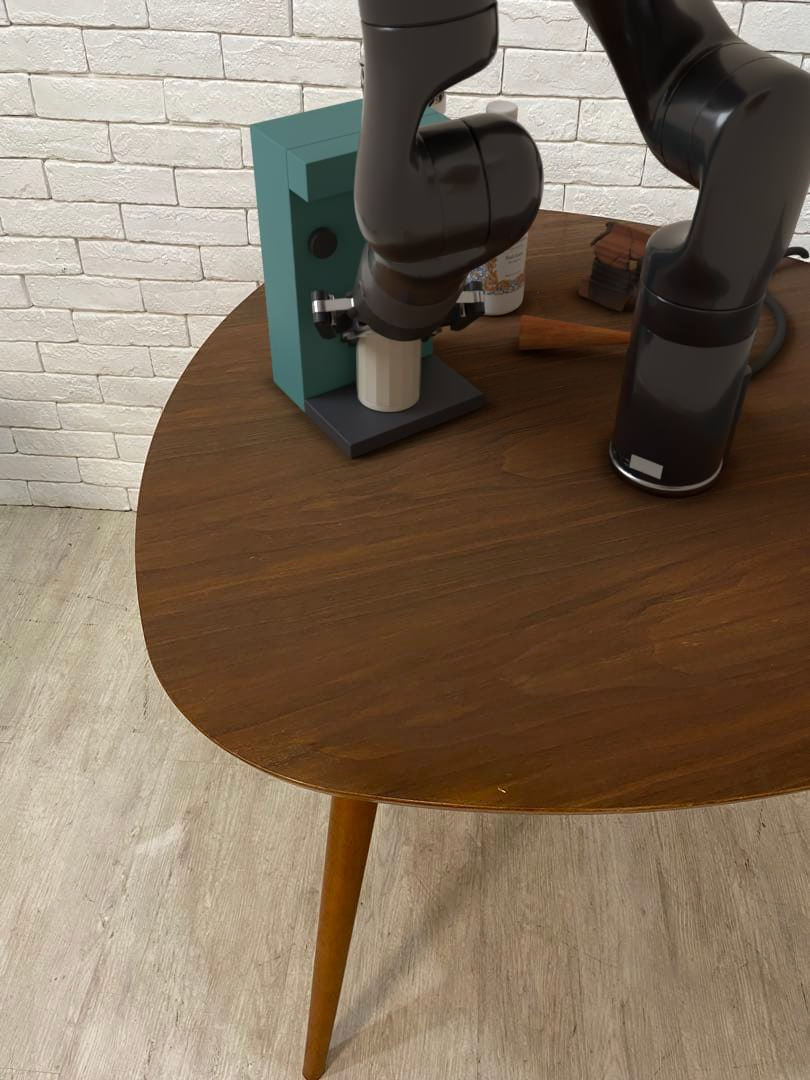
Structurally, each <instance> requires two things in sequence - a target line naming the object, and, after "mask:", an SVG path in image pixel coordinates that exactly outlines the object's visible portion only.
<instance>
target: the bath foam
mask: <svg viewBox="0 0 810 1080" xmlns="http://www.w3.org/2000/svg"><path fill="white" fill-rule="evenodd" d="M485 113H499V114H503V115H506V116H508V117H511V118H513V119H514V120H516V121H517V122H518V116H519V115H518V114H519V107H518V105H517V104H516V103H515V102H513V101H509V100H493V101H490V102H488V103H487V104H486V107H485ZM529 239H530V229H529V230H528V232H527V233H526V234H525V235H524V236H523V237H522V238H521V240H520V241H518V242H517V243H516V244H515V245H514V246H512V247H511V248H509V249H508V250H507V251H505V252H504V253H502V254H500V255H499V256H497V257H496V258H494V259H492V260H491V261H489V262H488V263H486V264H484V265H482V266H480V267H478V268H476V269H474V270H473V271H471V272H470V273H469V275H468V276H467V279H466V283H465V286H466V285H467V284H468V283H470V282H472V281H480V282H482V284H483V294H484V304H485V314H483V315H482V316H500V315H501V316H502V315H506V314H509V313H511V312H514V311H515V310H517V309H518V308H519V307H520V306H521V305H522V303H523V301H524V294H525V293H524V292H525V283H526V272H527V262H528V261H527V260H528V251H529V250H528V249H529Z"/></svg>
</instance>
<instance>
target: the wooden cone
mask: <svg viewBox="0 0 810 1080" xmlns="http://www.w3.org/2000/svg"><path fill="white" fill-rule="evenodd" d="M518 331H519V332H518V333H519V334H518V347H519V351H529V350H530V351H531V350H532V351H533V350H547V349H549V350H550V349H565V348H581V347H582V348H583V347H599V346H600V347H601V346H602V347H603V346H617V345H628V343H629V338H630V332H631V331H625V330H618V329H611V328H606V327H605V328H604V327H600V326H593V325H587V324H581V323H574V322H568V321H561V320H557V319H556V320H555V319H550V318H549V319H548V318H544V317H537V316H531V315H524V314H523V315H521V318H520V324H519V330H518Z"/></svg>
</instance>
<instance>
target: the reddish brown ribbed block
mask: <svg viewBox="0 0 810 1080" xmlns="http://www.w3.org/2000/svg"><path fill="white" fill-rule="evenodd" d="M605 227H606V229H605V231H603V232H601V233H600V234H599V235H597V236H595V238H593V240H592V241H591V242H590V247H594V248H593V254H594V258H593V261H592V268H591V274H588V273H583V274H581V277H580V282H579V292H578V295H579V296H581V297H582V298H586V299H587V300H589V301H593V302H594V303H595V304H597V305H600V306H602V307H605V308H608V309H610V310H613V311H617V312H620V313H621V312H623V310H624V309H625V305H626V303H627V301H628V299H629V297H630V298H631V300H632V302H633V303H634V304H635V302H636V296H637V291H638V285H639V279H640V274H641V266H642V260H643V255H644V250H645V247H646V244H647V242H648V239H649V238H650V237H651V235H652V234H653V233H652V232H649V231H646V230H643V229H641V228H637V227H634V226H630V225H628V224H625V223H620V222H617V221H608V222H606V223H605ZM631 261H633V262H636V264H635V265H636V268H632V269H630V264H631V263H630V262H631Z"/></svg>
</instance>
